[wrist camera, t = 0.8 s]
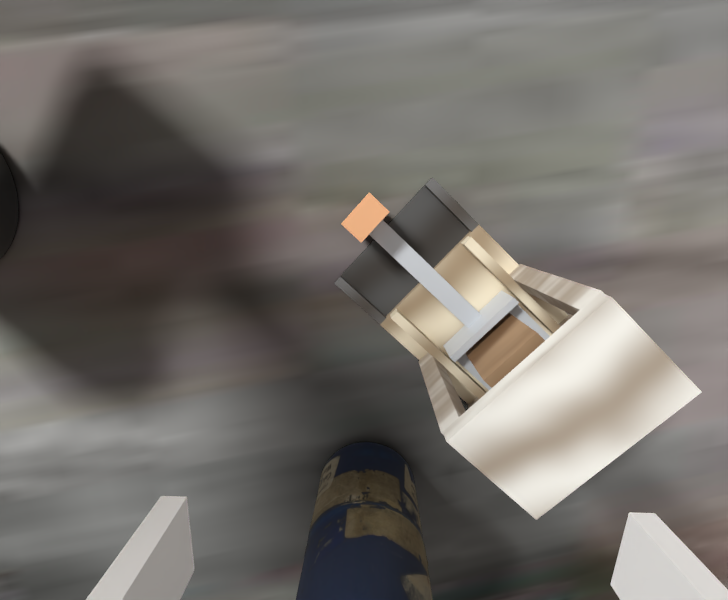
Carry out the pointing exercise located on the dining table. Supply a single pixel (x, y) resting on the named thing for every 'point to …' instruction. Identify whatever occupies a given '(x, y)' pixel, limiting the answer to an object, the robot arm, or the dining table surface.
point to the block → (503, 348)
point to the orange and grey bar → (437, 284)
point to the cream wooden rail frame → (535, 373)
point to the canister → (365, 530)
